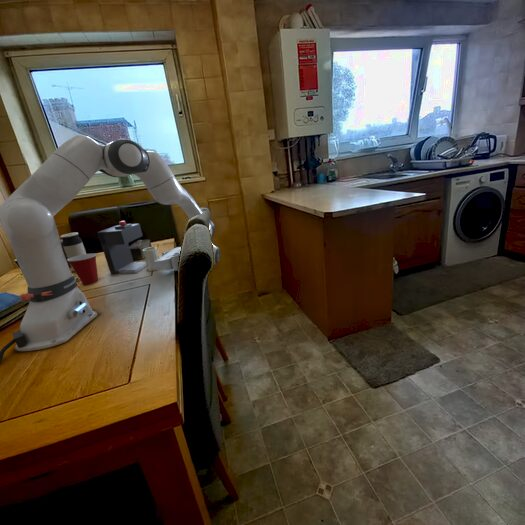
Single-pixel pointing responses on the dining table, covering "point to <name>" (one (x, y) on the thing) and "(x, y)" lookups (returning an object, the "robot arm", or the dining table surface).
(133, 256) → the beverage carton
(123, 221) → the brew button
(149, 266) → the creamer cup
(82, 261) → the plastic cup
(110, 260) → the coffee maker
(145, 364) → the dining table surface
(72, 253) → the travel mug
